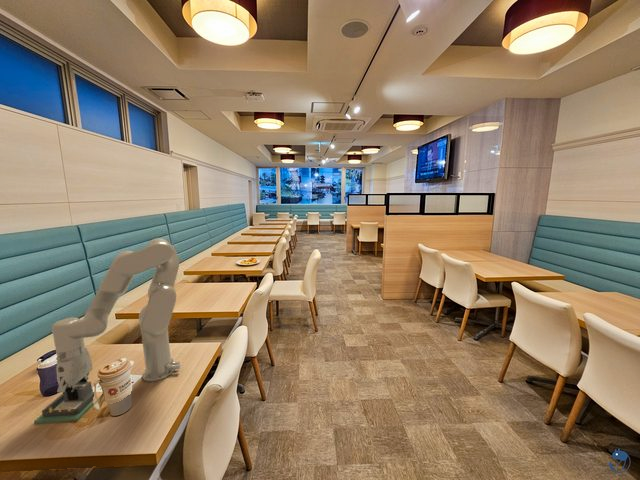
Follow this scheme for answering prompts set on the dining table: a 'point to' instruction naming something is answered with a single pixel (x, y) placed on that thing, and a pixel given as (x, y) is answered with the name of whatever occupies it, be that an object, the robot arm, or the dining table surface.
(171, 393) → the dining table surface
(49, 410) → the board
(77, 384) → the plug housing
